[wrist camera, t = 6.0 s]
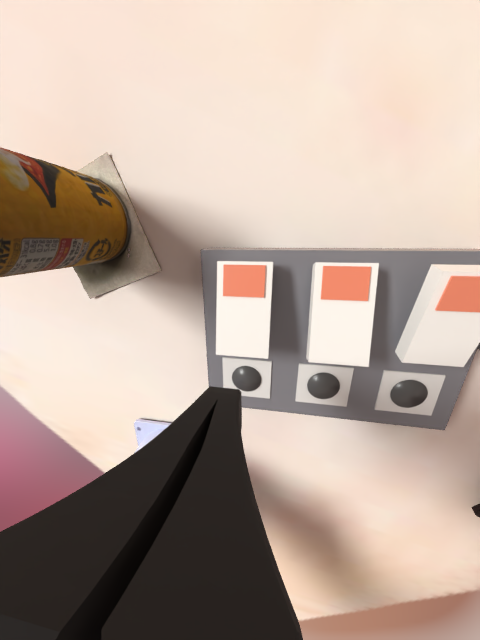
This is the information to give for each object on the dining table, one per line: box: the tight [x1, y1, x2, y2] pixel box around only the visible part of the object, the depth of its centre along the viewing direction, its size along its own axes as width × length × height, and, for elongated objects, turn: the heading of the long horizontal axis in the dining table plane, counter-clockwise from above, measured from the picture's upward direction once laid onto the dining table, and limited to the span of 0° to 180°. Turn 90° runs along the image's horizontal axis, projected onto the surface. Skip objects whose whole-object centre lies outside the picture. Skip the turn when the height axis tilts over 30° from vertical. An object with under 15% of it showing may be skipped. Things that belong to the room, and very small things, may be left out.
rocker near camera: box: [395, 264, 480, 367], centre depth 12 cm, size 6×3×1 cm, turn 0°
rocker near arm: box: [216, 261, 273, 359], centre depth 14 cm, size 6×3×1 cm, turn 0°
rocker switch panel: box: [201, 248, 480, 430], centre depth 16 cm, size 12×26×3 cm, turn 90°
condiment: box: [0, 148, 161, 299], centre depth 12 cm, size 7×8×12 cm
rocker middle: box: [306, 262, 379, 367], centre depth 13 cm, size 6×3×1 cm, turn 0°
